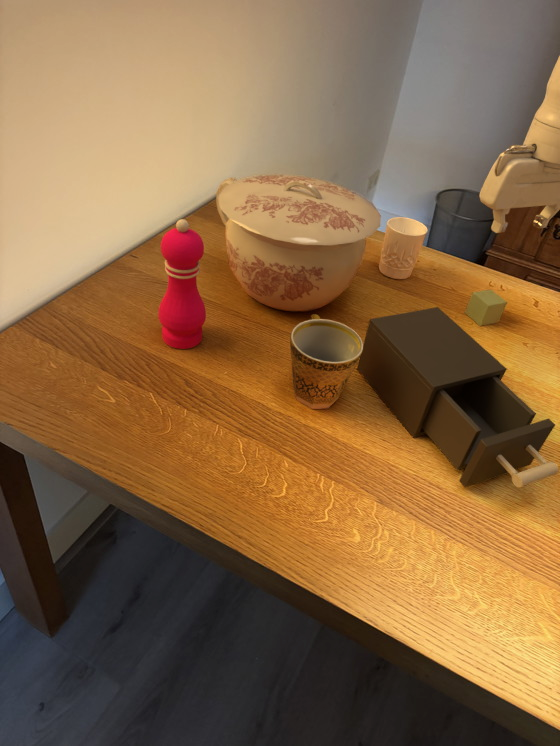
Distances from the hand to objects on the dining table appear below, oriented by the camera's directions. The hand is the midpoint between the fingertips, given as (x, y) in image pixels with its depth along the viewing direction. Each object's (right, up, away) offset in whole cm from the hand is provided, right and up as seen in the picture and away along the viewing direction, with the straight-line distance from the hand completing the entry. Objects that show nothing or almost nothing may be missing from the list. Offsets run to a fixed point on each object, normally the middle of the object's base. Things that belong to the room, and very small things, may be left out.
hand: (518, 228), depth 91 cm
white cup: (-16, -3, +21) cm, 27 cm away
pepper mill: (-55, -19, -4) cm, 58 cm away
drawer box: (-19, -27, -7) cm, 34 cm away
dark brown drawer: (-13, -34, -17) cm, 40 cm away
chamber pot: (-38, -9, +11) cm, 41 cm away
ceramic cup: (-35, -26, -9) cm, 45 cm away
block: (-2, -14, +11) cm, 18 cm away
